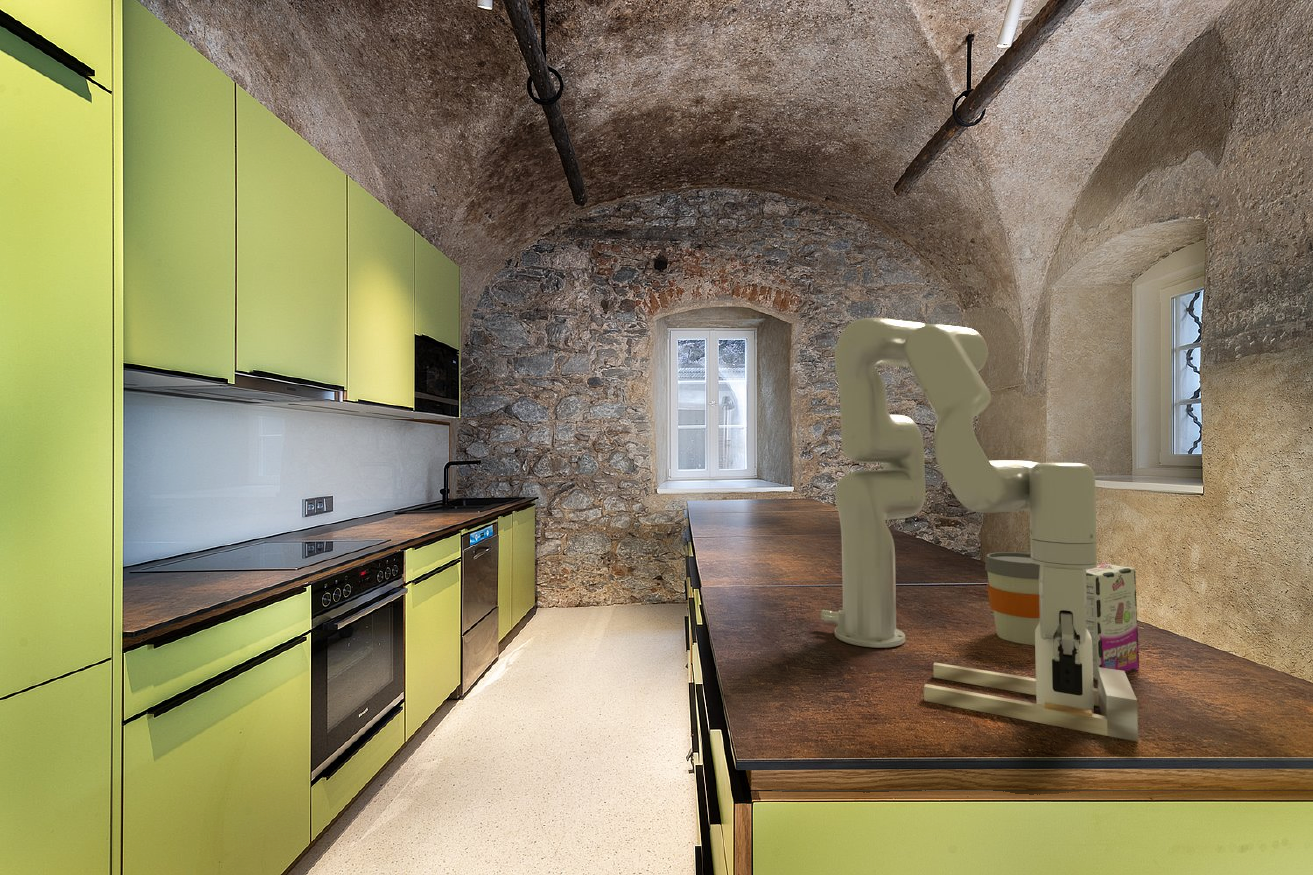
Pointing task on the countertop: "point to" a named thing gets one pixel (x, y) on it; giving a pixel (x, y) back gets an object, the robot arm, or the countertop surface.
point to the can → (1044, 673)
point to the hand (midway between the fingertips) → (1065, 680)
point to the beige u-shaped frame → (1109, 696)
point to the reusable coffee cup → (1014, 595)
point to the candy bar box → (1112, 617)
